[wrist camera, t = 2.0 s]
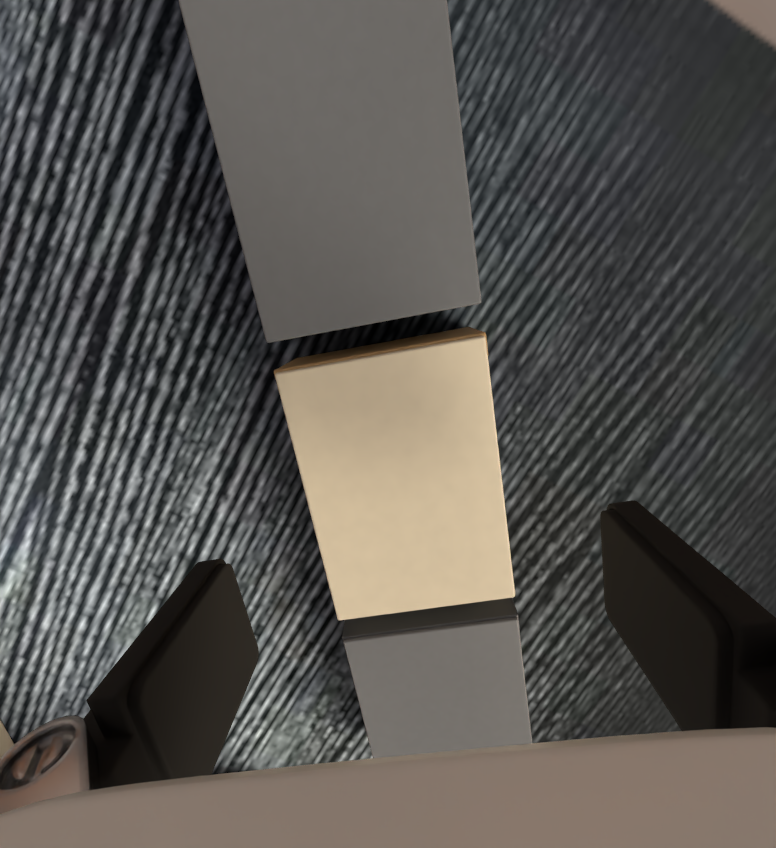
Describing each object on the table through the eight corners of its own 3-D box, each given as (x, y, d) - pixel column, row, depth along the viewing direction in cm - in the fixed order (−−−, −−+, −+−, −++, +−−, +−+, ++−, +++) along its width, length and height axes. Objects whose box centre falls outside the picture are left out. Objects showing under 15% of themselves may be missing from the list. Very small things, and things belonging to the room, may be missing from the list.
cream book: (296, 357, 17) (271, 371, 14) (469, 326, 17) (487, 331, 13) (346, 568, 20) (336, 622, 16) (496, 546, 19) (517, 597, 16)
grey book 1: (219, 36, 14) (163, -47, 11) (426, -15, 14) (436, -119, 10) (290, 335, 17) (264, 343, 14) (466, 303, 16) (483, 303, 13)
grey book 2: (350, 583, 20) (340, 640, 17) (498, 563, 20) (519, 617, 16) (388, 739, 23) (386, 815, 19) (518, 725, 22) (540, 800, 19)
